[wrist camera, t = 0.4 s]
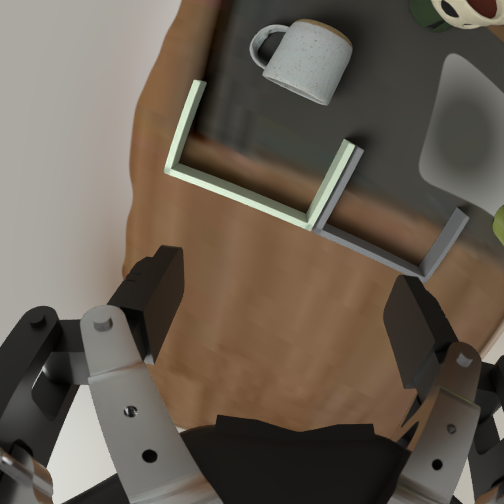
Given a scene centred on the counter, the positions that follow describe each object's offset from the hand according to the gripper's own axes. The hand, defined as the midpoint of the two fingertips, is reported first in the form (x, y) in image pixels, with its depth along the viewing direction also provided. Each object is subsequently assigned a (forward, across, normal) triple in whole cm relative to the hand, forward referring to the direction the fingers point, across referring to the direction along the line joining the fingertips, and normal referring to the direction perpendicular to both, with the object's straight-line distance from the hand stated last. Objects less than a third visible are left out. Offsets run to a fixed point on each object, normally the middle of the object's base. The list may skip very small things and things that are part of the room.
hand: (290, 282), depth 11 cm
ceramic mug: (+29, 0, -11) cm, 31 cm away
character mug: (+28, -16, -23) cm, 40 cm away
